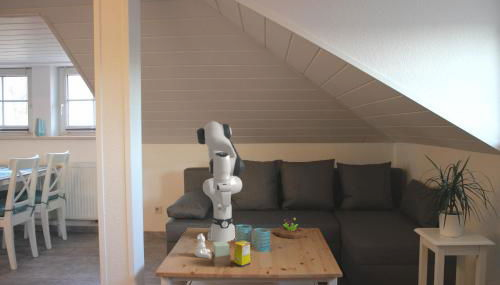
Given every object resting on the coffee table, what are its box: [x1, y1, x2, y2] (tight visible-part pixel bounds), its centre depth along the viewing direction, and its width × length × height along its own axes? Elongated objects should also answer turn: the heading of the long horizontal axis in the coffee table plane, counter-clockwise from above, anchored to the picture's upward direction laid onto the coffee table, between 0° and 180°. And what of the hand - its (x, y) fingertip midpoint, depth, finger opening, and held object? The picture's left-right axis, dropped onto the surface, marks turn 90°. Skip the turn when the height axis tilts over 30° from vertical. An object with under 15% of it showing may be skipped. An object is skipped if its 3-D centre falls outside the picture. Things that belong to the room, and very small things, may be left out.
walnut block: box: [211, 251, 232, 267], centre depth 182 cm, size 8×8×5 cm
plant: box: [273, 217, 308, 240], centre depth 234 cm, size 20×20×11 cm
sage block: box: [212, 241, 230, 257], centre depth 182 cm, size 7×7×5 cm
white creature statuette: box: [193, 233, 211, 259], centre depth 192 cm, size 10×9×12 cm
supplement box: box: [233, 239, 251, 268], centre depth 181 cm, size 6×6×11 cm
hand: (221, 212), depth 181 cm, fingers open, 7 cm apart
